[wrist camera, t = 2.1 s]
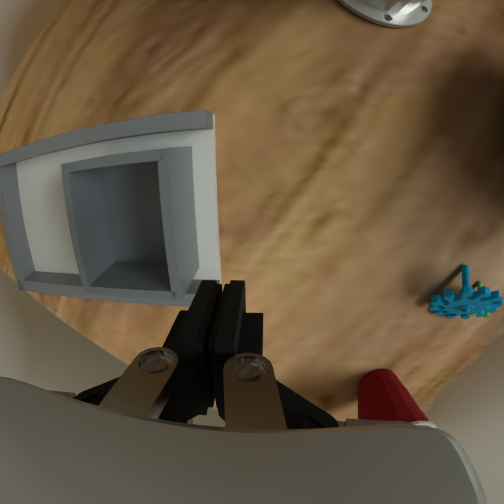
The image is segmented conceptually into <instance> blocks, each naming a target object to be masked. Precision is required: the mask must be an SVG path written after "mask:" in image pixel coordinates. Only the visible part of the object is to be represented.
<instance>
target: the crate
mask: <svg viewBox="0 0 504 504" xmlns="http://www.w3.org/2000/svg"><path fill="white" fill-rule="evenodd" d="M61 171H62V181H63V189H64V197H65V204H66V211H67V217H68V223H69V229H70V234H71V239H72V244H73V249H74V254H75V258H76V263H77V267H78V271H79V275H80V279H81V283H82V286H83V290H84V293H86V294H96V295H107V296H119V297H131V298H145V299H161V300H178V301H182V300H183V298H184V296H185V294H186V292H187V290H188V288H189V286H190V284H191V282H192V280H193V278H194V276H195V274H196V272H197V271H198V269H199V256H198V244H197V231H196V217H195V202H194V184H193V163H192V146H189V147H176V148H165V149H155V150H145V151H137V152H129V153H121V154H114V155H108V156H101V157H95V158H90V159H84V160H79V161H74V162H69V163H65V164H61Z"/></svg>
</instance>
